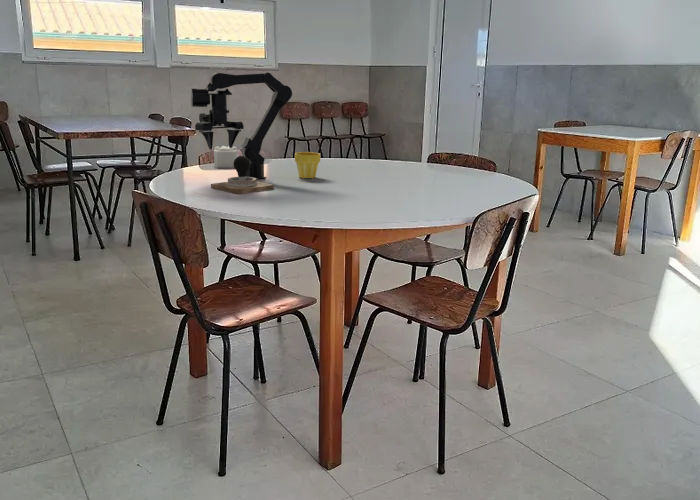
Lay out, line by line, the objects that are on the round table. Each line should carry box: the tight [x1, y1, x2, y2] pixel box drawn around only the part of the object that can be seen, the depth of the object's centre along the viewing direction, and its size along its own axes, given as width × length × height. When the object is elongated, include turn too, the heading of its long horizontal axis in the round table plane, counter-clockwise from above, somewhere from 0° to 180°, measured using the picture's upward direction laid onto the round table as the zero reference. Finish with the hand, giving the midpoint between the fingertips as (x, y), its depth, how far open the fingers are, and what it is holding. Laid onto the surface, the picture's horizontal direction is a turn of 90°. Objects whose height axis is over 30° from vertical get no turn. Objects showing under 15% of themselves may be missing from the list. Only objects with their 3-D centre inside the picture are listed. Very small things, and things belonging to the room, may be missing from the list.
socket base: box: [210, 176, 275, 195], centre depth 226 cm, size 16×16×4 cm
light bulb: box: [233, 155, 250, 181], centre depth 225 cm, size 6×6×10 cm
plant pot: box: [294, 151, 321, 179], centre depth 254 cm, size 10×10×10 cm
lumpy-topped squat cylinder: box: [213, 145, 239, 169], centre depth 282 cm, size 10×13×9 cm
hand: (220, 148), depth 242 cm, fingers open, 9 cm apart
